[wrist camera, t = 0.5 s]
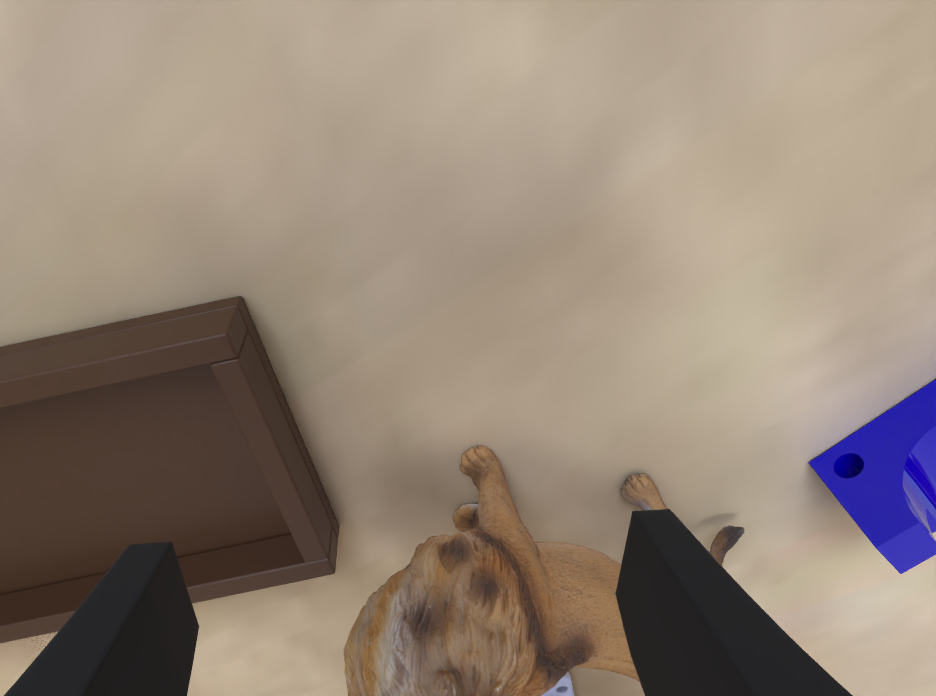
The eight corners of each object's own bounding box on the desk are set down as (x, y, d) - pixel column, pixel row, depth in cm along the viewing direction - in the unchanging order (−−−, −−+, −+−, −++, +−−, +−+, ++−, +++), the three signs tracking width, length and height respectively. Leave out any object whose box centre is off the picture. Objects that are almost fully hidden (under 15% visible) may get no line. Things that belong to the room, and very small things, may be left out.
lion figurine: (346, 542, 24) (327, 822, 17) (362, 429, 21) (348, 701, 14) (711, 561, 27) (837, 808, 19) (766, 463, 24) (938, 706, 17)
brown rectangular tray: (339, 526, 24) (335, 574, 22) (-137, 626, 24) (-178, 681, 22) (241, 294, 19) (226, 332, 17) (-366, 424, 19) (-444, 475, 17)
